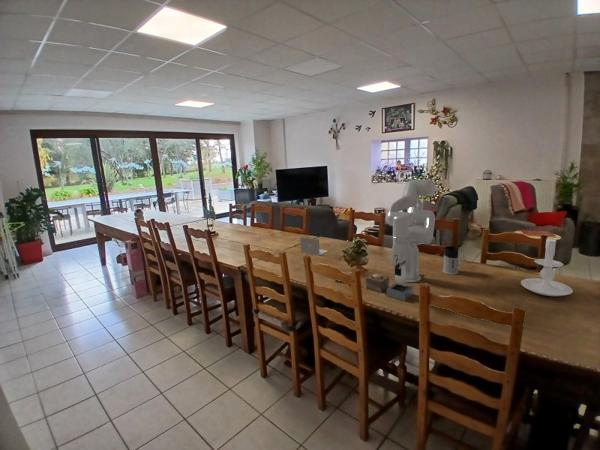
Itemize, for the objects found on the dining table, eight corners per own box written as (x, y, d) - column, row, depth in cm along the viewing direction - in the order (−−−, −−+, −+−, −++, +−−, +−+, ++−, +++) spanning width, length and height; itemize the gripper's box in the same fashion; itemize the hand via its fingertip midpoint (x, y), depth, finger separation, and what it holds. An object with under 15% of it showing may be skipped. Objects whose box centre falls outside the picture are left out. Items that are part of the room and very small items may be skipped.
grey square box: (374, 283, 180) (374, 273, 179) (388, 286, 174) (388, 276, 173) (366, 288, 174) (366, 278, 172) (381, 292, 168) (380, 281, 166)
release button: (375, 283, 177) (375, 273, 175) (383, 285, 174) (383, 274, 172) (371, 285, 173) (371, 275, 172) (379, 287, 170) (379, 277, 169)
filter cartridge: (397, 278, 165) (397, 260, 163) (407, 280, 162) (407, 262, 160) (393, 281, 162) (393, 263, 160) (402, 284, 159) (403, 265, 156)
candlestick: (578, 289, 158) (586, 235, 152) (566, 305, 143) (574, 247, 137) (529, 278, 174) (535, 229, 168) (514, 292, 159) (519, 239, 153)
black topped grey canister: (450, 268, 196) (451, 245, 192) (469, 275, 182) (470, 251, 179) (439, 270, 193) (440, 247, 190) (457, 278, 180) (458, 253, 177)
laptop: (328, 251, 244) (328, 235, 242) (319, 256, 235) (318, 239, 232) (310, 248, 256) (309, 233, 253) (300, 252, 246) (299, 236, 243)
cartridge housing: (395, 289, 170) (395, 282, 169) (413, 294, 163) (413, 286, 163) (386, 296, 163) (386, 289, 162) (405, 301, 156) (405, 293, 155)
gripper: (400, 234, 165) (400, 267, 170) (385, 242, 153) (385, 277, 157) (414, 236, 160) (414, 269, 165) (400, 245, 148) (400, 280, 152)
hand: (400, 273), depth 161 cm, fingers closed on filter cartridge, 5 cm apart
